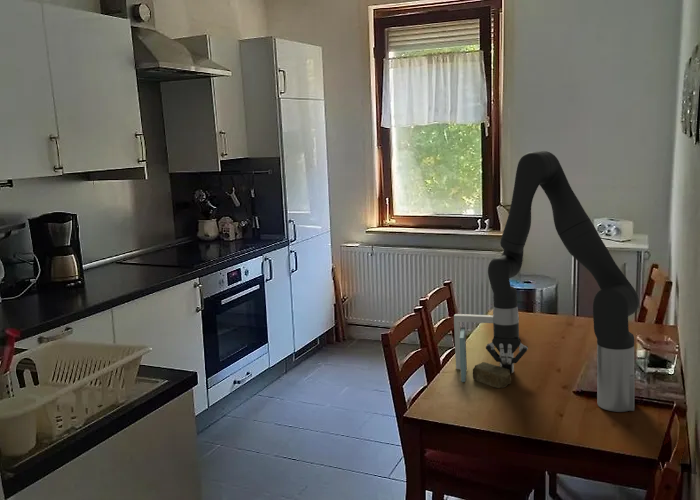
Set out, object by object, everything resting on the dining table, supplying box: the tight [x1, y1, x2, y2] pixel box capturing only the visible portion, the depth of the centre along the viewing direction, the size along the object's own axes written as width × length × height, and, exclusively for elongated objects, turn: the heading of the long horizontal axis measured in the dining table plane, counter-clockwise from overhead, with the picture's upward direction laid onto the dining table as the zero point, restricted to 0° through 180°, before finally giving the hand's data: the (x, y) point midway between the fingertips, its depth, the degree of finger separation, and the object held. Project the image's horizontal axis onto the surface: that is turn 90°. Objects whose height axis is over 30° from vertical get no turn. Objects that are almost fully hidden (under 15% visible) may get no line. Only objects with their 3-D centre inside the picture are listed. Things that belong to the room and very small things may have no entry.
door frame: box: [453, 313, 515, 374], centre depth 206 cm, size 18×2×18 cm, turn 68°
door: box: [460, 326, 468, 383], centre depth 202 cm, size 12×1×14 cm, turn 168°
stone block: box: [472, 361, 512, 389], centre depth 196 cm, size 6×12×5 cm, turn 37°
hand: (507, 375), depth 197 cm, fingers closed
